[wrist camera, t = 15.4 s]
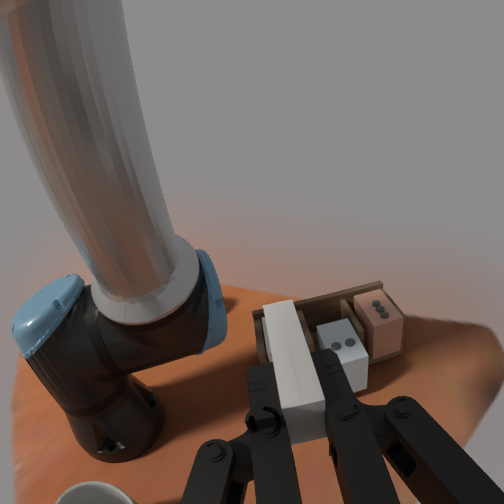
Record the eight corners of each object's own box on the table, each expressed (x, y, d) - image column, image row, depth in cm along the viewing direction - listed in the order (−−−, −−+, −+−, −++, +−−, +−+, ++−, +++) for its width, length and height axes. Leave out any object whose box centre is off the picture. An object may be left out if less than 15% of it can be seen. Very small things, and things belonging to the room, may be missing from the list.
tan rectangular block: (400, 350, 38) (403, 315, 36) (372, 359, 38) (374, 324, 36) (379, 320, 46) (379, 287, 43) (354, 327, 46) (353, 294, 43)
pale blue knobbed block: (366, 388, 34) (368, 354, 32) (334, 398, 34) (332, 364, 32) (348, 350, 42) (347, 316, 39) (319, 358, 42) (316, 324, 39)
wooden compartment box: (402, 353, 40) (407, 311, 37) (267, 390, 41) (256, 350, 38) (379, 320, 49) (380, 280, 46) (261, 349, 50) (252, 311, 47)
